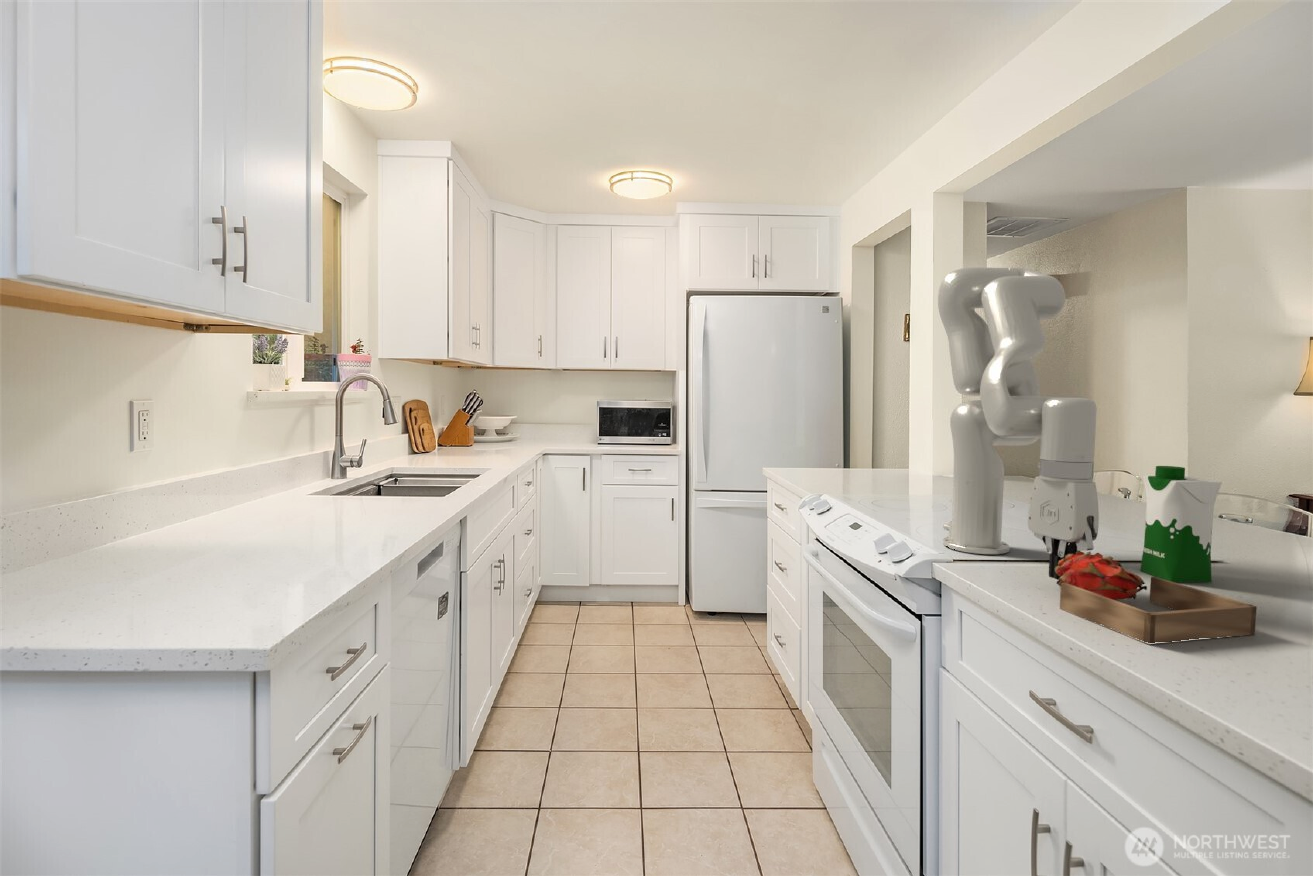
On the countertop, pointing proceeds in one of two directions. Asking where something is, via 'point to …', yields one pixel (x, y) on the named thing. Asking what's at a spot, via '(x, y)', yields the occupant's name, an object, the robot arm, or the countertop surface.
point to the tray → (1165, 613)
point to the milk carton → (1178, 525)
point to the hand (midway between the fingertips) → (1060, 577)
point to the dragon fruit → (1098, 575)
